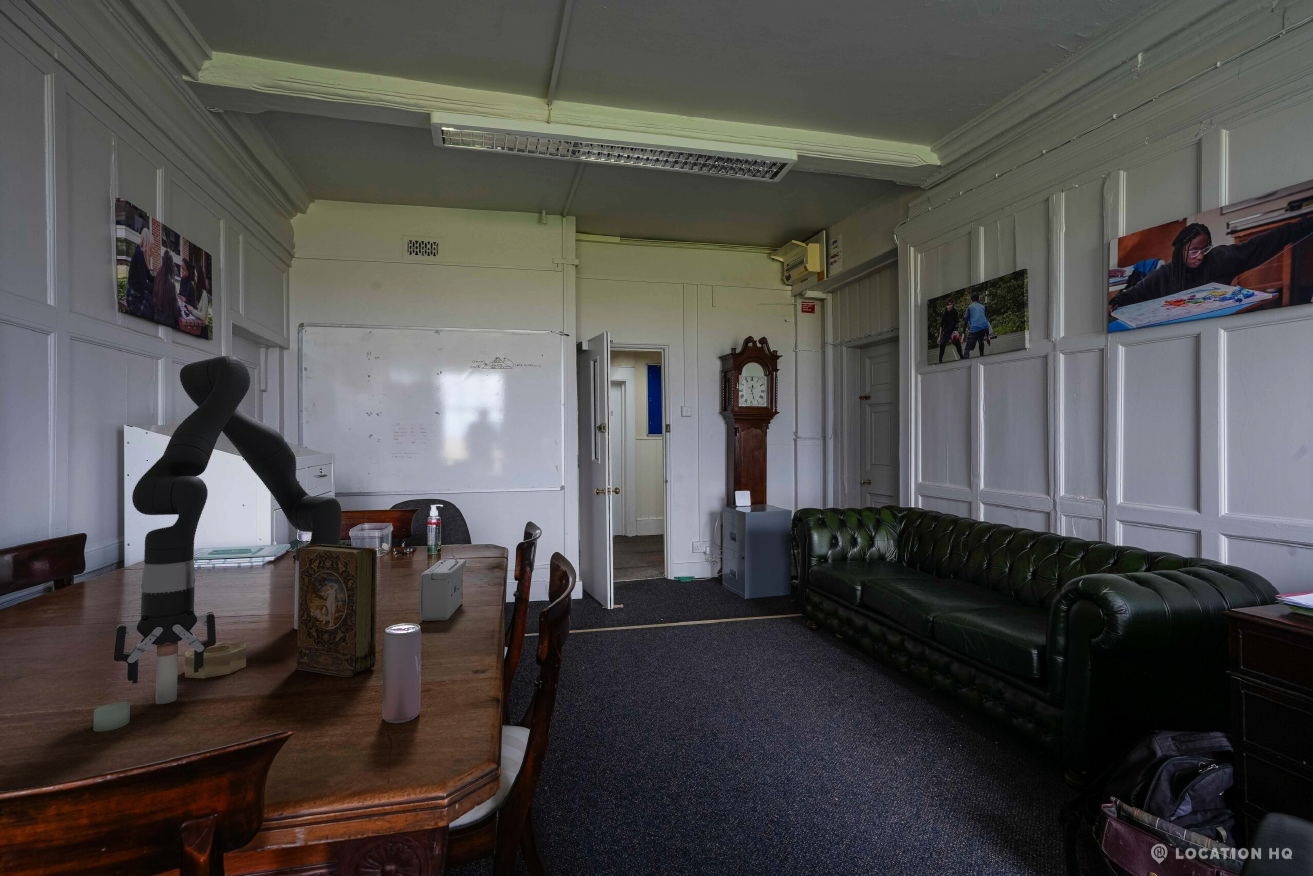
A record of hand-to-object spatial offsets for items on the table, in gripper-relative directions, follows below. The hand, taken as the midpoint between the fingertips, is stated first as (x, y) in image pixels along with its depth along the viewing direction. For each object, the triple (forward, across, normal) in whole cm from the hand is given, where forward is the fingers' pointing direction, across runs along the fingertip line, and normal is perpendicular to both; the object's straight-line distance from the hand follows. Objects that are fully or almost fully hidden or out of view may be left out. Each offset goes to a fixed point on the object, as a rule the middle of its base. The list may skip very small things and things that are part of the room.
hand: (166, 676), depth 109 cm
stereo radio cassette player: (+4, -61, -29) cm, 68 cm away
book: (+4, -27, +1) cm, 27 cm away
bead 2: (+4, -8, -14) cm, 17 cm away
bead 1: (+4, +7, +7) cm, 11 cm away
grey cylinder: (+4, 0, 0) cm, 4 cm away
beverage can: (+4, -31, +33) cm, 46 cm away
